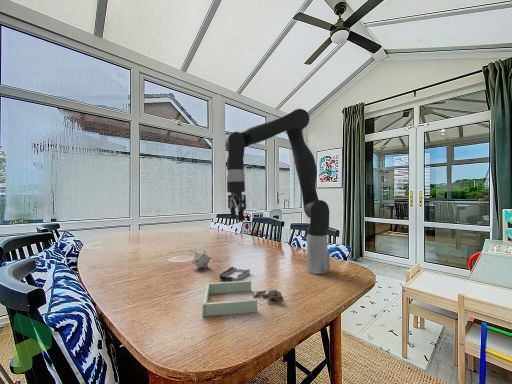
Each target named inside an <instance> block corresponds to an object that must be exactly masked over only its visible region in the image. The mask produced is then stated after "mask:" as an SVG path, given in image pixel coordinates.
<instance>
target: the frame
mask: <svg viewBox="0 0 512 384" xmlns="http://www.w3.org/2000/svg"><path fill="white" fill-rule="evenodd" d="M251 291H252V280H238V281H234V282H229V281H222V282H207V283H206V284H205V291H204V295H203V300H202V317H211V316H212V317H213V316H223V315H236V314H237V315H239V314H249V313H258V299H253V298H252V299H243V300H242V299H241V300H227V301H214V302H209V297H210V294H222V293H223V294H224V293H236V292H251Z"/></svg>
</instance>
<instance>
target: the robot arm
mask: <svg viewBox="0 0 512 384" xmlns="http://www.w3.org/2000/svg"><path fill="white" fill-rule="evenodd" d="M309 123H310V115H309V113H308V111H306V110H305V109H304V108H297V109H294V110H292V111H291V112H290V113H287V114H285V115H283V116H281V117H279V118H276V119H273V120H270V121H266V122H264V123H261V124H258V125H255V126H251V127H249V128H247V129H246V130H243V131H241V132H240V131H233V132H231V133H229V135H228V136H227V137H226V138H225V140H224V144H225V146H224V147H225V148H226V149H227V150H228V154H227V155H228V156H227V158H226V170H227V171H226V192H227V193H230V194H228V195H227V208H228V209H229V210H230V220H235V219H237V220H238V221H239V222H241V221H244V220H245V212H244V211H245V210H247V198H246V197H247V195H246V194H243V193H245V192H246V181H245V180H246V176H245V168H244V167H245V166H244V164H245V163H244V158H245V157H244V156H245V148H247V147H248V146H251V145H256V144H259V143H261V142H264V141H266V140H268V139H271V138H273V137H275V136H278V135H280V134H282V133H284V132H286V135H287V137H288V140H289V143H290V148H291V152H292V157H293V160H294V167H295V171H296V175H297V179H298V182H299V186H300V190H301V196H302V204H303V212H304V213H305V216H307V217H308V218H309V219H310V220H309V225H308V227H307V228H306V248H307V249H306V254H307V255H306V258H307V259H306V260H307V261H306V262H307V263H306V267H307V272H308V273H309V274H313V275H326V274H327V273H330V271H331V270H330V265H331V264H330V251H328V230H329V228H330V207H329V205H328V203H327V202H326V201H324V200H323V199H319V197H318V193H317V188H316V187H317V178H318V177H317V176H318V170H317V165H316V160H315V156H314V154H313V153H312V151H311V150H310V148H309V147H308V145H307V144H306V142H305V139H304V135H303V129H305V128H306V127H307V126H308V125H309ZM236 210H237V211H236ZM236 212H237V213H236Z"/></svg>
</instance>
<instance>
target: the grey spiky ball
mask: <svg viewBox="0 0 512 384" xmlns="http://www.w3.org/2000/svg"><path fill="white" fill-rule="evenodd" d="M194 254H195V256H194V259H193V261H192V262H191V264H194V265H195V266H196V268H197V271H199V270H200V269H203V268H207V269H208V268H209V266H208V265H209V263H210V260H211V259H212V257H209V256H208V254H207V253H206V250H204V251H203V252H201V253H200V252H199V253H197V252H195V253H194Z"/></svg>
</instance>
